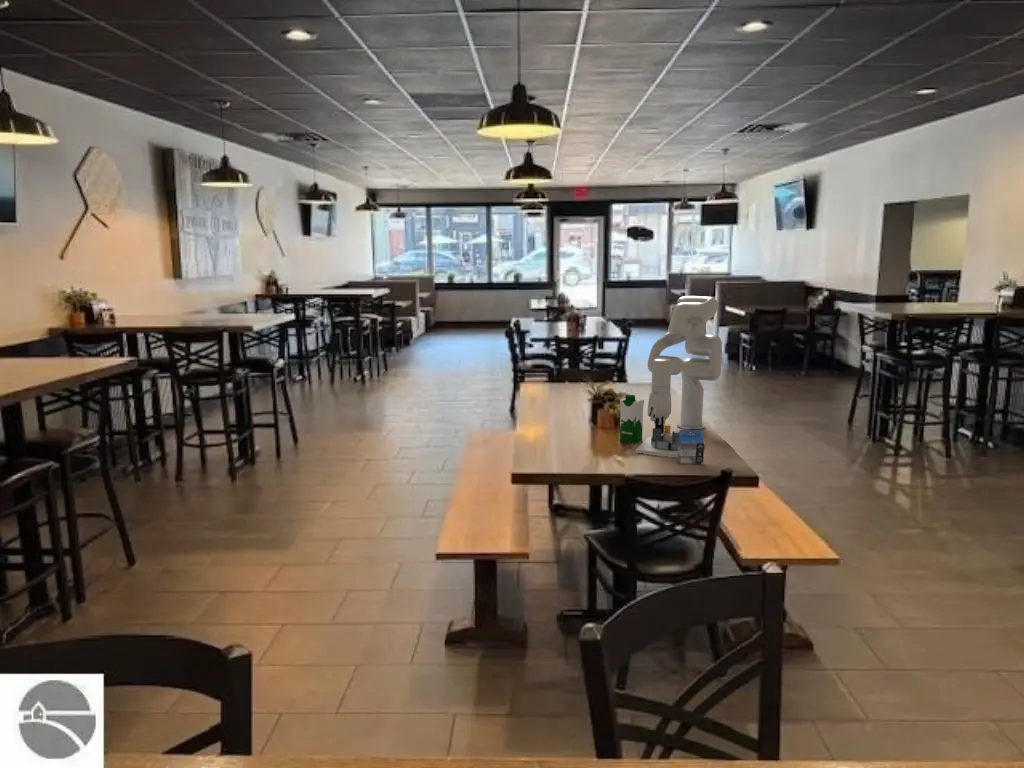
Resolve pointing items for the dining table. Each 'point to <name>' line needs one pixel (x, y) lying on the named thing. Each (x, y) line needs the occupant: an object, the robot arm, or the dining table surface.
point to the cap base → (651, 450)
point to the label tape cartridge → (690, 447)
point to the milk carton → (631, 419)
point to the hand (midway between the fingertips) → (659, 433)
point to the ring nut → (664, 444)
